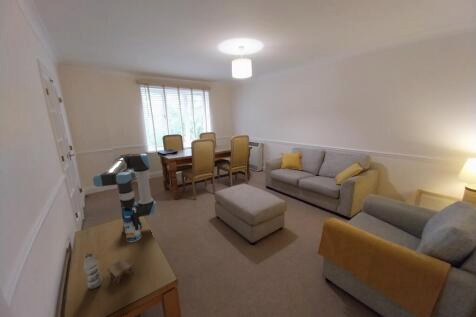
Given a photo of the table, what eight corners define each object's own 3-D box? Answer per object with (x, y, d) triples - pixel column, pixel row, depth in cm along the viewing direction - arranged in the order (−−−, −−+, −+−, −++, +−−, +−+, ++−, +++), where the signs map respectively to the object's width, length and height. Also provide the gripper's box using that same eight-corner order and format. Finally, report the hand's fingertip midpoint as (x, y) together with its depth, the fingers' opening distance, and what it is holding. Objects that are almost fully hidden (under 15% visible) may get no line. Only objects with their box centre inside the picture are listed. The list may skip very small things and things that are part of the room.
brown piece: (126, 267, 126) (124, 258, 124) (134, 274, 121) (133, 264, 119) (109, 278, 118) (107, 268, 116) (117, 286, 113) (115, 275, 111)
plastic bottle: (94, 280, 117) (87, 251, 112) (105, 281, 116) (98, 252, 112) (85, 290, 111) (77, 259, 106) (96, 291, 110) (89, 260, 105)
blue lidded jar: (143, 238, 122) (138, 208, 118) (128, 244, 117) (123, 214, 112) (139, 232, 128) (134, 204, 124) (124, 238, 123) (119, 209, 118)
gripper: (111, 196, 119) (118, 230, 124) (130, 204, 108) (136, 240, 113) (124, 192, 125) (129, 224, 130) (143, 199, 114) (148, 234, 119)
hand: (133, 232), depth 121 cm, fingers closed on blue lidded jar, 8 cm apart
